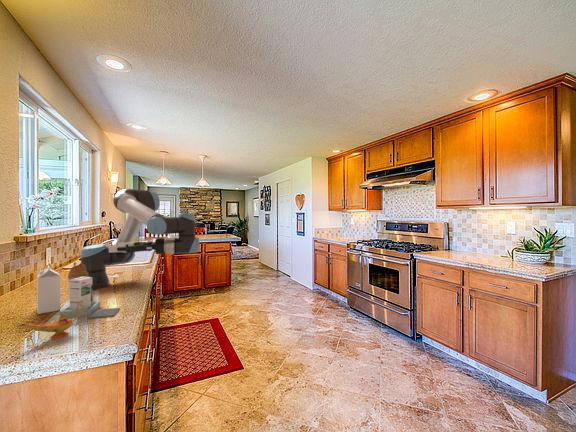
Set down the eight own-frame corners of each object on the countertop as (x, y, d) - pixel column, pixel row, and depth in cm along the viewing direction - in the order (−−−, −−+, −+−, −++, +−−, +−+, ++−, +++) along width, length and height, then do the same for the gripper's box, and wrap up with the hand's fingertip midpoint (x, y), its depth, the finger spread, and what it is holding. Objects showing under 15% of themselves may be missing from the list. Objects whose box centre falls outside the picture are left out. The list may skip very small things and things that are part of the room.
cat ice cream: (63, 300, 130) (63, 263, 130) (80, 296, 137) (80, 260, 137) (77, 302, 127) (77, 264, 127) (93, 297, 135) (93, 261, 135)
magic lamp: (14, 343, 87) (14, 309, 87) (82, 326, 101) (83, 296, 101) (17, 350, 83) (18, 314, 83) (88, 331, 97) (88, 300, 97)
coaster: (95, 311, 117) (95, 309, 117) (119, 309, 120) (119, 307, 120) (87, 318, 108) (87, 317, 108) (113, 316, 111) (113, 315, 111)
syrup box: (80, 315, 112) (80, 279, 112) (68, 313, 114) (68, 279, 113) (92, 310, 118) (93, 276, 118) (81, 309, 119) (81, 276, 119)
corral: (71, 308, 119) (71, 303, 119) (100, 306, 122) (100, 301, 122) (59, 317, 109) (59, 311, 109) (90, 315, 112) (90, 309, 112)
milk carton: (58, 306, 122) (58, 264, 122) (60, 310, 117) (60, 266, 117) (36, 310, 117) (37, 266, 117) (37, 314, 112) (37, 268, 112)
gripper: (161, 257, 118) (104, 260, 111) (168, 250, 141) (121, 252, 135) (161, 240, 118) (104, 241, 111) (168, 236, 141) (121, 236, 135)
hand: (113, 247), depth 123 cm, fingers open, 13 cm apart
